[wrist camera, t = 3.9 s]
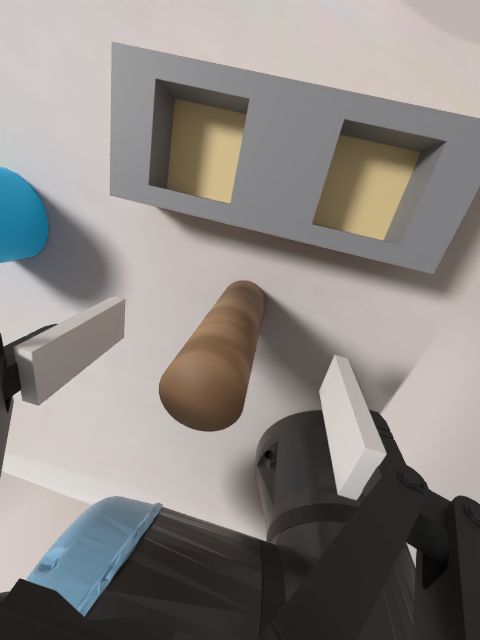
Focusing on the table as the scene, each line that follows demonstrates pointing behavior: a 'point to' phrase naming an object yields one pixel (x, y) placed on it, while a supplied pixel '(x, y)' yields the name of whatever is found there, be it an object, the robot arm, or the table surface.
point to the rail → (291, 157)
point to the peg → (216, 362)
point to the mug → (20, 218)
